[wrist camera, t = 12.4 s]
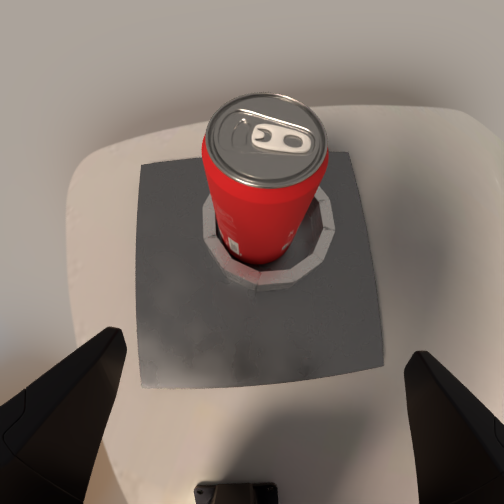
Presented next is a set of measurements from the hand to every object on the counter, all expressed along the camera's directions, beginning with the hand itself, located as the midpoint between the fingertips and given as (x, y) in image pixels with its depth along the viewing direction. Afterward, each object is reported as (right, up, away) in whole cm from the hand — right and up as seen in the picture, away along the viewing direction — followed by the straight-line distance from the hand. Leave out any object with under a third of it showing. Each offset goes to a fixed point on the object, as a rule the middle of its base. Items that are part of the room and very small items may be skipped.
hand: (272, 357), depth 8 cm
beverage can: (0, +4, +14) cm, 15 cm away
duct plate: (0, +2, +15) cm, 15 cm away
